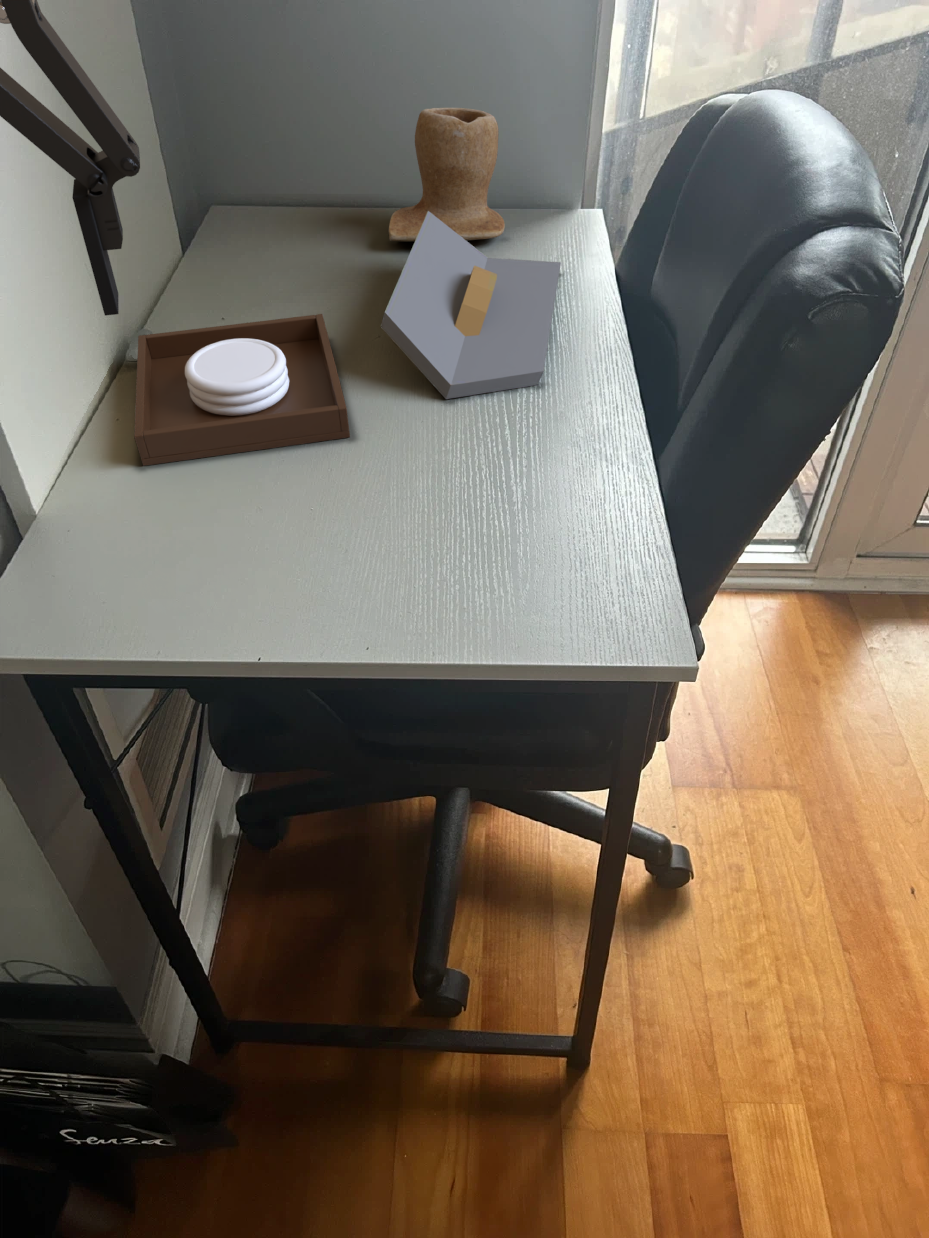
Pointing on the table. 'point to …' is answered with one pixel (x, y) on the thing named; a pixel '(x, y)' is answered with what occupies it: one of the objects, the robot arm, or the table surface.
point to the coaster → (237, 376)
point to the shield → (471, 314)
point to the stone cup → (453, 174)
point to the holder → (190, 432)
